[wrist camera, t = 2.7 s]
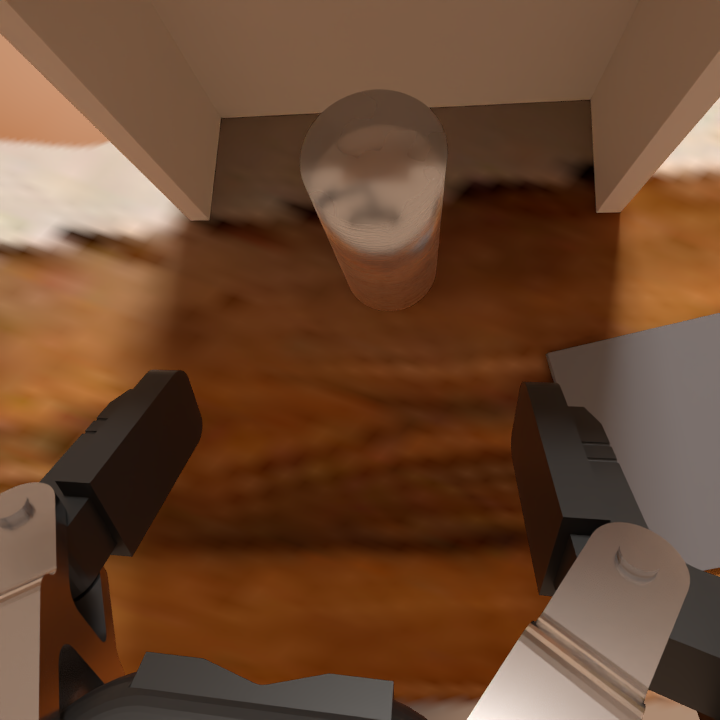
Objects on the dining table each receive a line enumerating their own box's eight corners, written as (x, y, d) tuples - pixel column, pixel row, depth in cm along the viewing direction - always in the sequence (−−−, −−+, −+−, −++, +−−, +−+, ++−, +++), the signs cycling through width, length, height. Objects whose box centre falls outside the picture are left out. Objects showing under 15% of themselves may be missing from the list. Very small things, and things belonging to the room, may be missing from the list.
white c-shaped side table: (178, 318, 26) (-612, -102, 6) (204, 101, 29) (-297, -702, 9) (627, 322, 23) (2046, -518, 3) (612, 79, 26) (1326, -1276, 5)
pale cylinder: (355, 321, 25) (314, 240, 15) (337, 238, 26) (287, 112, 16) (446, 298, 24) (465, 200, 15) (424, 215, 25) (427, 72, 16)
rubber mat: (616, 583, 21) (620, 586, 21) (545, 354, 23) (547, 353, 23) (871, 535, 20) (880, 537, 20) (771, 301, 22) (777, 299, 22)
